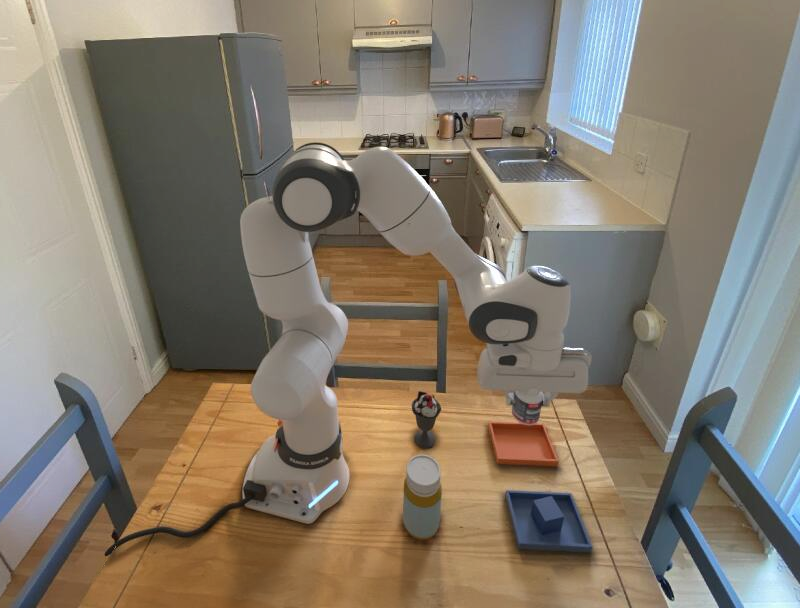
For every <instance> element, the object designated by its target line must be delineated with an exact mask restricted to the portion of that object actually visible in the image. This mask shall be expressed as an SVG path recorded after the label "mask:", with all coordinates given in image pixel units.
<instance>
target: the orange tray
mask: <svg viewBox="0 0 800 608" xmlns="http://www.w3.org/2000/svg"><path fill="white" fill-rule="evenodd" d="M487 428H488V433H489V436H490V439H491V443H492V448H493V452H494V455H495V459H496V464H497V465H517V466H539V467H541V466H542V467H559V462H560V460H559V459H558V458H559V457H558V456H557V453H556V450H555V448H554V445H553V444H552V441H551V438H550V435H549V433H548V430H547V428H546V425H545V423H544V422H543V423H542V422H540V423H539V422H537V423H536V424H534V425H524V424H521V423H519V422H516V421H515V422H514V421H513V422H511V421H488V425H487Z"/></svg>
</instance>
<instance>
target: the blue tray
mask: <svg viewBox="0 0 800 608" xmlns="http://www.w3.org/2000/svg"><path fill="white" fill-rule="evenodd" d="M504 496H505V500H506V505H507V508H508V509H507V510H508V512H509V517H510V521H511V525H512V529H513V533H514V538H515V541H516V545H517V550H535V551H553V552H569V553H570V552H573V553H587V554H588V553H590V554H591V553H592V551H593V544H592V542H591V539H590V536H589V534H588V532H587V529H586V526H585V525H584V522H583V519H582V517H581V514H580V511H579V509H578V506H577V504H576V502H575V499H574V496H573V493H571V492H557V491H555V492H553V491H533V490H513V489H512V490H511V489H506V490H505V494H504ZM550 496H552V497H553V499H554V501H555V502H556V504H557V505H558V507H559V509H560V510H561V512H562V513H563V515H564V521H563V524H562V528H561V530H560V531H556V532H552V533H548V534H544V535H542V534H541V532H540V530H539V528H538V526H537V525H536V523H535V521H534V519H533V517H532V516H531V509H532V504H533V500H537V499H542V498H546V497H550Z"/></svg>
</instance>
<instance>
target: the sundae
mask: <svg viewBox="0 0 800 608" xmlns="http://www.w3.org/2000/svg"><path fill="white" fill-rule="evenodd" d="M411 411H412V413H413V415H414V416H415V420H416V421H415V422H416V426H417V428H418V429H419V430H418V431H417V432H415V434H414V437H413V438H414V439H413V440H414V442H415V444H416V445H417V446H418V447H420V448H423V449H429V448H431V447H433V446H434V445H435V444H436V436H435V435H434V433H433V432H431V431H432V430H433V429H434V426H435V424H436V419H437V418H438V417H439V415H440V413H441V412H442V407H441V403H439V401H438V400H437V399H436V398H435V395H434V394H432V395H431V394H428V392H426V391H420V390H419V391H418V393H417V397H416V398H414V399H413V400H412V403H411Z"/></svg>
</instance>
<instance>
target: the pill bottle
mask: <svg viewBox="0 0 800 608" xmlns="http://www.w3.org/2000/svg"><path fill="white" fill-rule="evenodd" d="M513 393H514V397H515V399H516V402H515V406H514V405H511V415H512V417H513V418H514V420H515V421H517V423H521V424H524V425H534V424H536V423H539V421H540V416H541V410H542V401H543V394H544V392H538V389H534V388H530V389H529V390H528V391H513Z"/></svg>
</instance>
